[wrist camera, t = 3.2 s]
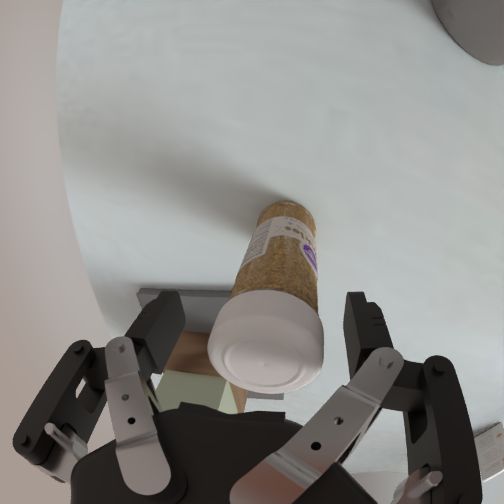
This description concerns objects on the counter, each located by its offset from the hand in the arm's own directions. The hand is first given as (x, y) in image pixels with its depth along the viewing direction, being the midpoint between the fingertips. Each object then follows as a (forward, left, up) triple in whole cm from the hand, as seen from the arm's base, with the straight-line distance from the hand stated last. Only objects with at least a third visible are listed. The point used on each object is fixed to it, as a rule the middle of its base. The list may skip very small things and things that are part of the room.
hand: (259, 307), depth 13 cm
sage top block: (+7, +14, -4) cm, 17 cm away
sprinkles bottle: (-1, 0, -10) cm, 10 cm away
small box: (-50, +52, -10) cm, 73 cm away
